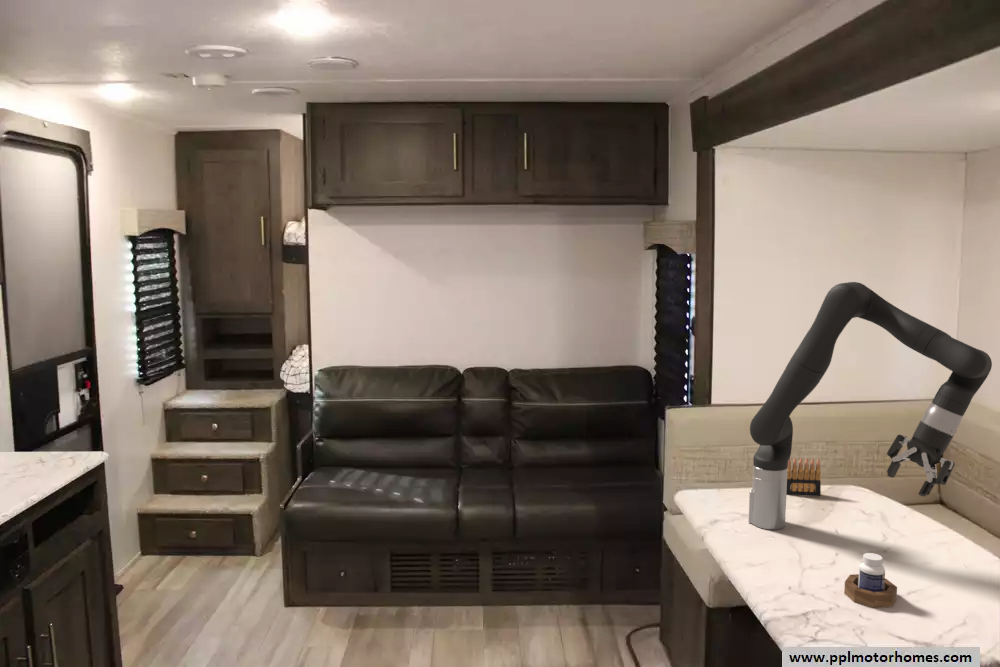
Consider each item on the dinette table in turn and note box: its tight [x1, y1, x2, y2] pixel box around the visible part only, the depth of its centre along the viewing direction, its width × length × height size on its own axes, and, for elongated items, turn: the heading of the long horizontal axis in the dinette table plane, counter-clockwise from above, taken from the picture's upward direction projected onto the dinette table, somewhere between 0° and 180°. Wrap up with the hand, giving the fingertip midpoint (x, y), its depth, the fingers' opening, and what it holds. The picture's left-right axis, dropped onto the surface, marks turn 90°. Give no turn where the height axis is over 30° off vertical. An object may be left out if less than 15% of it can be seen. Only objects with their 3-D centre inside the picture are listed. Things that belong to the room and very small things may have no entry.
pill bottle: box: [858, 552, 886, 592], centre depth 178 cm, size 5×5×10 cm
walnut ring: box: [843, 573, 898, 609], centre depth 178 cm, size 10×10×3 cm
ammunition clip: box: [786, 457, 822, 497], centre depth 243 cm, size 11×2×12 cm, turn 81°
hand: (905, 485), depth 185 cm, fingers open, 8 cm apart
